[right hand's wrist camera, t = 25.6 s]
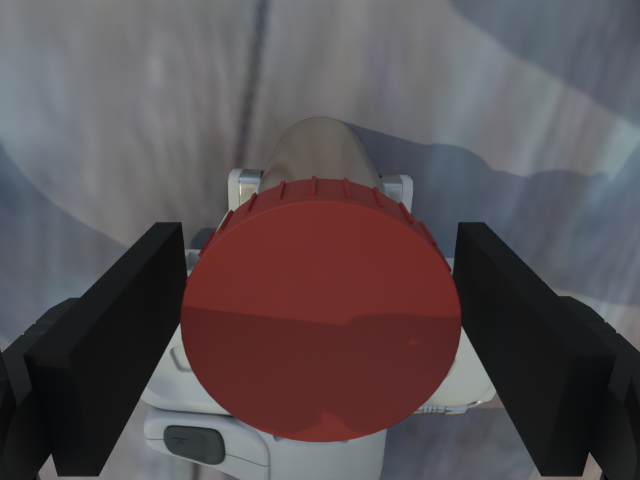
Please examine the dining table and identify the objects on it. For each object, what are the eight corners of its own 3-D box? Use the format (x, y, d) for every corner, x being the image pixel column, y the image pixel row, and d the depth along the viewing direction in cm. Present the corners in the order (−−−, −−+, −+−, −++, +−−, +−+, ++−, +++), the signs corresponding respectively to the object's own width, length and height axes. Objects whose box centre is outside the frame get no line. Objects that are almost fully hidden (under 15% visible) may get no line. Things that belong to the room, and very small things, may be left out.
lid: (340, 117, 10) (344, 129, 9) (491, 309, 12) (520, 351, 11) (145, 279, 12) (115, 318, 10) (306, 428, 14) (304, 483, 12)
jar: (365, 113, 26) (434, 195, 10) (369, 206, 28) (431, 394, 12) (268, 121, 26) (189, 214, 10) (279, 213, 28) (227, 407, 12)
